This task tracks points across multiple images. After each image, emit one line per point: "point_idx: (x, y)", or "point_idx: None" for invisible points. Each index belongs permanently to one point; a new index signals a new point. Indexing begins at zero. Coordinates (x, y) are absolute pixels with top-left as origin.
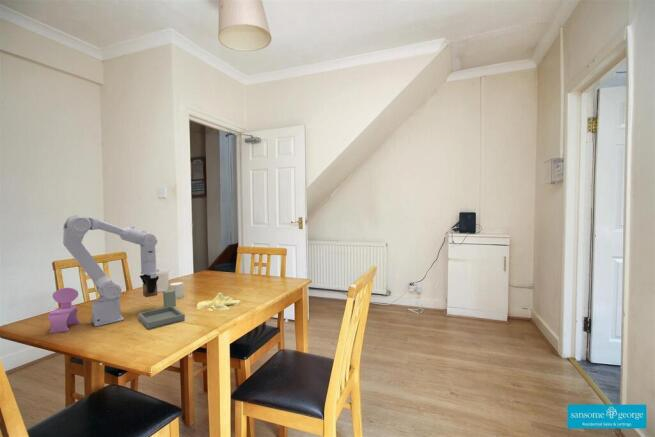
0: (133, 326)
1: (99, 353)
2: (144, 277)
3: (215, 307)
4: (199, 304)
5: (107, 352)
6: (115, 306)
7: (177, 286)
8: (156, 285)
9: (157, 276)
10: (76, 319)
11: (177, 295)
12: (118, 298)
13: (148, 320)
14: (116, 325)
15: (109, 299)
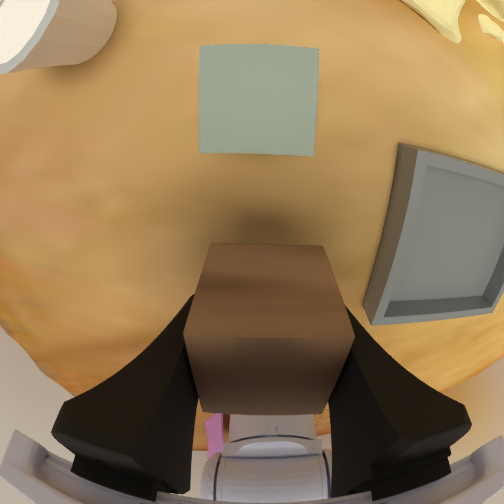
0: (416, 327)
1: (469, 375)
2: (185, 470)
3: (500, 13)
4: (432, 4)
5: (479, 366)
6: (313, 414)
7: (67, 2)
8: (347, 325)
9: (434, 442)
10: (222, 423)
11: (104, 21)
12: (279, 431)
13: (432, 286)
14: None
15: (325, 457)
